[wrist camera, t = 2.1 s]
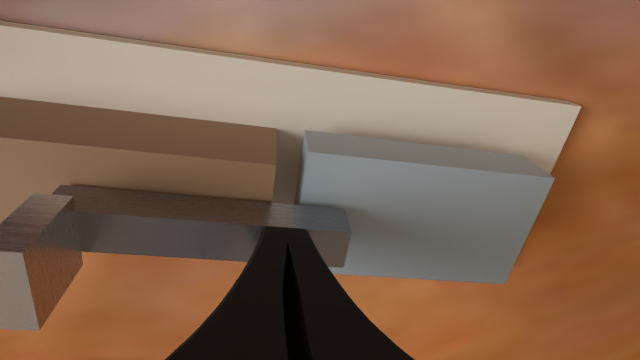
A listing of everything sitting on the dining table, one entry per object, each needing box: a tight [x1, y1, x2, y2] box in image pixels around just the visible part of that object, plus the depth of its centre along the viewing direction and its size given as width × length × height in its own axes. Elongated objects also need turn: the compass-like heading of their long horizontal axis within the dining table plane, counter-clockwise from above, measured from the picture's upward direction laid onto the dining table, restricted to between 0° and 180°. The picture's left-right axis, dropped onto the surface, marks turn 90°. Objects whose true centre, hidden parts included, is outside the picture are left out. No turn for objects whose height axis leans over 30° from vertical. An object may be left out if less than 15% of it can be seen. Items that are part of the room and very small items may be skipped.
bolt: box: [0, 185, 352, 330], centre depth 12 cm, size 2×9×4 cm, turn 81°
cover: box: [294, 130, 555, 284], centre depth 16 cm, size 5×9×2 cm, turn 81°
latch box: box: [0, 21, 582, 223], centre depth 16 cm, size 9×24×4 cm, turn 81°
